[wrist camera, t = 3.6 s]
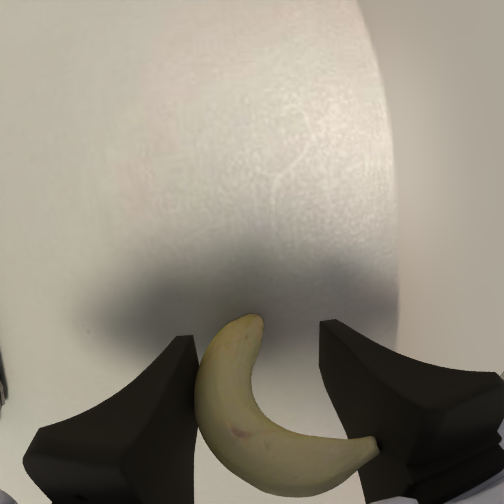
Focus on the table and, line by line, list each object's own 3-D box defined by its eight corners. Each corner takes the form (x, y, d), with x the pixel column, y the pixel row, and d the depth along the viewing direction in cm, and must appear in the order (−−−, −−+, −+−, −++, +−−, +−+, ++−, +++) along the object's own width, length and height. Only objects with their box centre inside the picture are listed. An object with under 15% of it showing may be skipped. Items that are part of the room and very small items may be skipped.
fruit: (166, 336, 12) (182, 367, 13) (232, 524, 5) (253, 538, 6) (254, 298, 13) (264, 331, 14) (387, 443, 6) (381, 471, 6)
